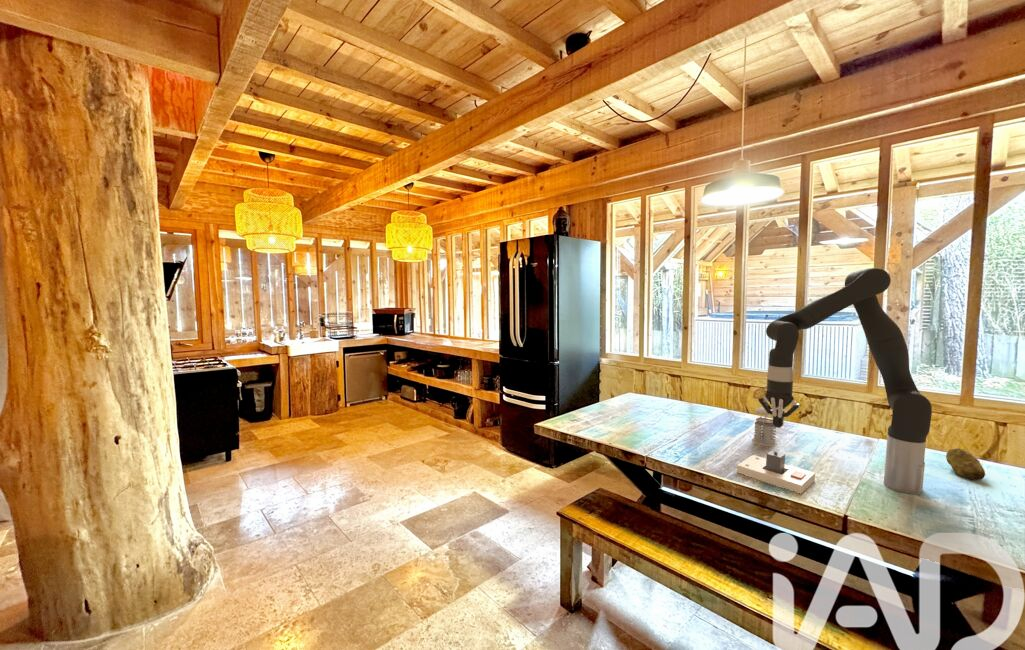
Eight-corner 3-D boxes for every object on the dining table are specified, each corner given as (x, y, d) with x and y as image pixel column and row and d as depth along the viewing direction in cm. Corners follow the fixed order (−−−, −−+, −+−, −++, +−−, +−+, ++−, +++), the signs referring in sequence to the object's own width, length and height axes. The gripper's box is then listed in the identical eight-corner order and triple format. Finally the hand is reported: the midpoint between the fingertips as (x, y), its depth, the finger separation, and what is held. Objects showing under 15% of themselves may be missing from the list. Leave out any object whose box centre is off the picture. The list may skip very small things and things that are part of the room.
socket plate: (814, 481, 143) (815, 471, 142) (801, 494, 134) (801, 483, 134) (752, 462, 158) (753, 453, 158) (736, 472, 149) (737, 463, 149)
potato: (951, 477, 144) (953, 455, 144) (942, 464, 155) (944, 444, 154) (986, 484, 139) (988, 461, 139) (975, 470, 150) (977, 449, 149)
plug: (783, 475, 146) (785, 452, 145) (779, 479, 143) (780, 455, 142) (770, 471, 149) (771, 448, 148) (765, 475, 146) (766, 451, 146)
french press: (780, 442, 178) (783, 385, 176) (773, 449, 170) (776, 390, 168) (755, 436, 185) (757, 382, 183) (747, 443, 177) (749, 386, 175)
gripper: (806, 380, 140) (803, 429, 141) (763, 374, 150) (761, 420, 152) (798, 383, 135) (796, 434, 137) (754, 377, 145) (753, 424, 147)
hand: (777, 426), depth 144 cm, fingers closed
